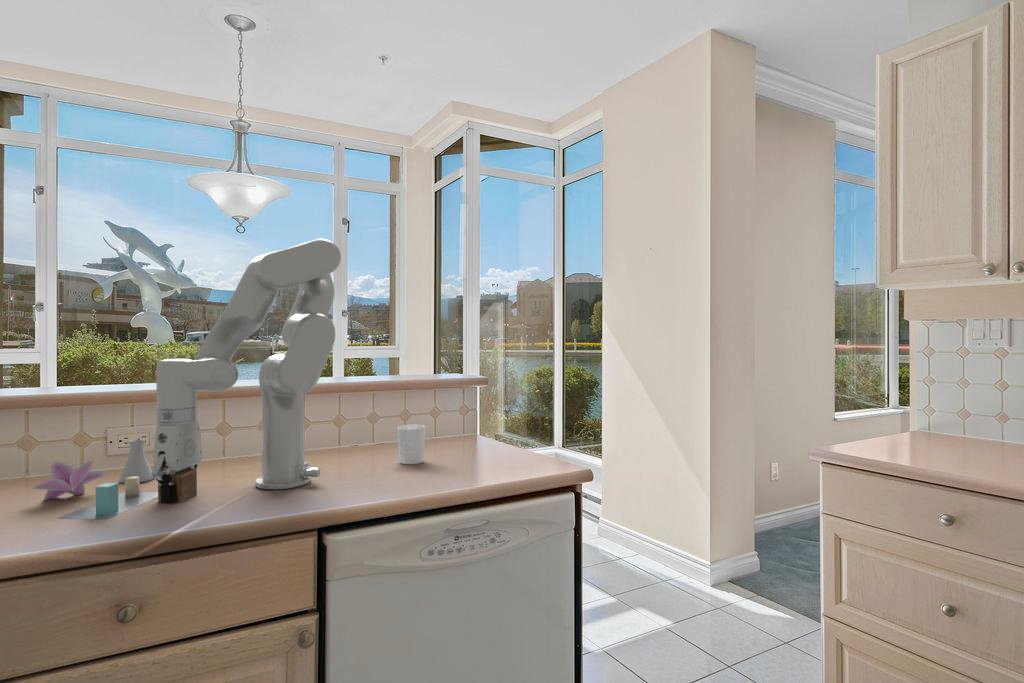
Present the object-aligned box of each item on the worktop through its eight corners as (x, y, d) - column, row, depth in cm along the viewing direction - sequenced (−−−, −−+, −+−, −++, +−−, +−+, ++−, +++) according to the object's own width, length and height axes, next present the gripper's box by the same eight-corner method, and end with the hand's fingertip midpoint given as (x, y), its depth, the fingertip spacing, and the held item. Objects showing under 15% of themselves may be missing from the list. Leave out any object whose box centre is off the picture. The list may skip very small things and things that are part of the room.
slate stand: (167, 495, 126) (167, 474, 126) (106, 523, 108) (106, 498, 108) (125, 495, 127) (124, 473, 127) (56, 522, 109) (56, 497, 109)
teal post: (118, 510, 114) (118, 483, 114) (108, 514, 111) (108, 486, 111) (105, 510, 114) (105, 483, 114) (95, 514, 111) (95, 486, 111)
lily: (117, 499, 127) (105, 460, 129) (101, 492, 117) (88, 450, 119) (54, 523, 122) (42, 482, 124) (31, 518, 112) (18, 473, 114)
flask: (137, 485, 135) (136, 444, 135) (111, 483, 136) (111, 442, 136) (161, 477, 142) (161, 438, 142) (137, 476, 143) (137, 437, 143)
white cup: (431, 460, 161) (431, 426, 161) (412, 466, 155) (412, 430, 154) (410, 457, 165) (410, 423, 165) (391, 462, 159) (391, 427, 159)
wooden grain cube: (196, 498, 125) (196, 468, 124) (181, 505, 119) (181, 474, 119) (174, 498, 125) (173, 468, 125) (158, 505, 120) (157, 474, 120)
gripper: (167, 422, 113) (168, 512, 113) (216, 410, 130) (217, 488, 130) (131, 422, 113) (132, 511, 114) (185, 410, 130) (185, 487, 131)
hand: (177, 498), depth 122 cm, fingers closed on wooden grain cube, 5 cm apart
